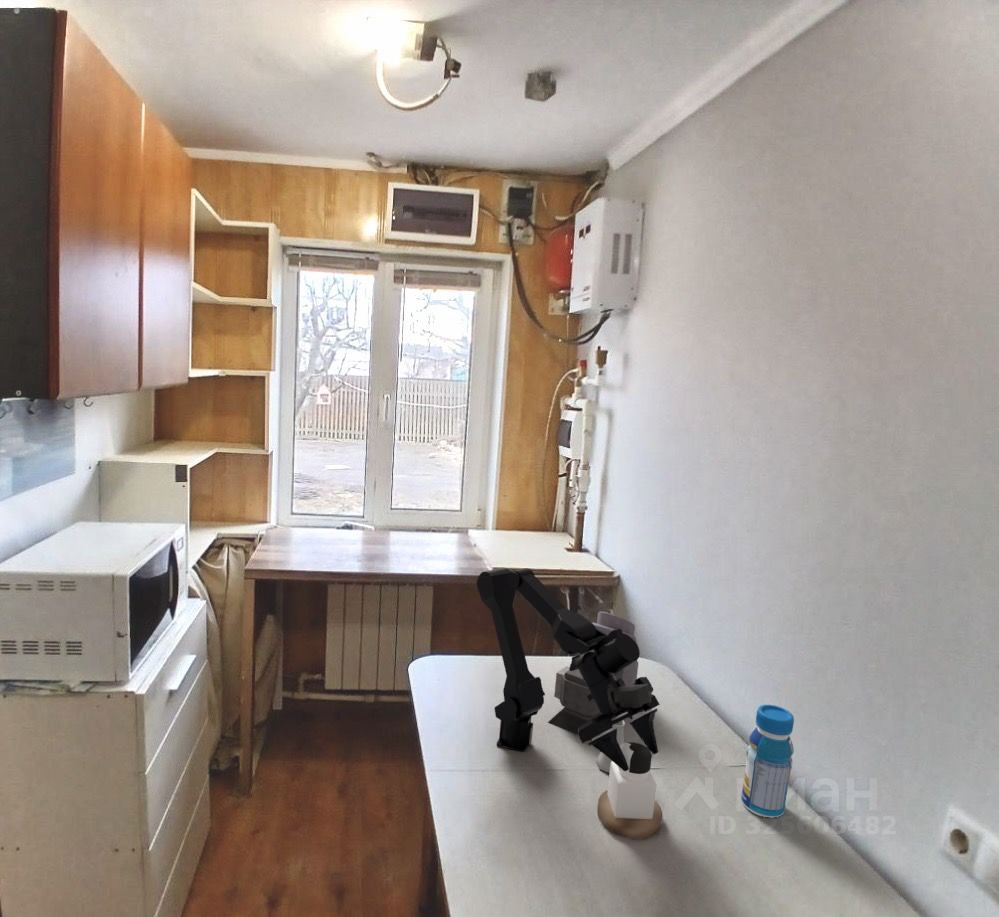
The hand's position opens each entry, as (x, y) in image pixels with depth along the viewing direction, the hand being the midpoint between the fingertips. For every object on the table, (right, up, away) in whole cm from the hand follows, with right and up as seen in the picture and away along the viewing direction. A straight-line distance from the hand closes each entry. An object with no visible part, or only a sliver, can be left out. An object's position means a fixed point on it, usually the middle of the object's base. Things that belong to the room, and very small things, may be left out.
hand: (641, 761), depth 126 cm
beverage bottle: (+26, -13, +9) cm, 31 cm away
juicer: (-2, -6, +44) cm, 44 cm away
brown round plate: (-2, -12, +3) cm, 12 cm away
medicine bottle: (-2, -10, +3) cm, 10 cm away
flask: (-2, -10, +19) cm, 22 cm away
